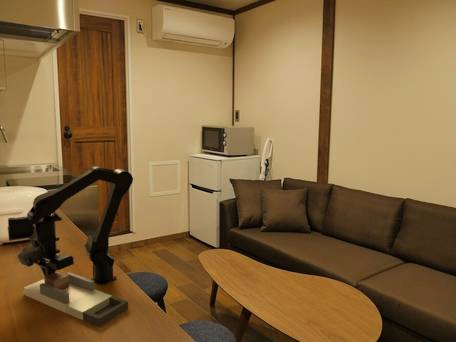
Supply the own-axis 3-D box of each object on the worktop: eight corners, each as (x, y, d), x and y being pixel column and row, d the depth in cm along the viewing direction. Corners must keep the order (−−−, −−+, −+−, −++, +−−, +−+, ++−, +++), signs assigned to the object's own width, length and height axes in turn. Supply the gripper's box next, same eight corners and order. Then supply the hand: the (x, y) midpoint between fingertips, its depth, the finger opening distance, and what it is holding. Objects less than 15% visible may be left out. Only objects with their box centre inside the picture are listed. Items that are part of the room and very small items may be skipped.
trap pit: (128, 309, 115) (128, 301, 115) (99, 327, 106) (98, 319, 106) (112, 303, 119) (112, 295, 118) (83, 320, 109) (82, 312, 109)
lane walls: (94, 289, 122) (94, 281, 121) (66, 304, 113) (65, 294, 112) (69, 280, 127) (68, 272, 127) (40, 293, 119) (39, 284, 118)
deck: (112, 303, 119) (112, 295, 118) (83, 320, 109) (82, 312, 109) (54, 281, 132) (54, 274, 132) (24, 294, 123) (23, 287, 122)
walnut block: (69, 287, 123) (68, 275, 122) (55, 293, 119) (54, 281, 118) (59, 283, 126) (58, 271, 125) (45, 289, 121) (44, 277, 121)
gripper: (3, 236, 119) (7, 283, 122) (40, 249, 110) (43, 300, 113) (37, 227, 129) (40, 271, 132) (73, 238, 119) (76, 285, 122)
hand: (49, 281), depth 124 cm, fingers closed
